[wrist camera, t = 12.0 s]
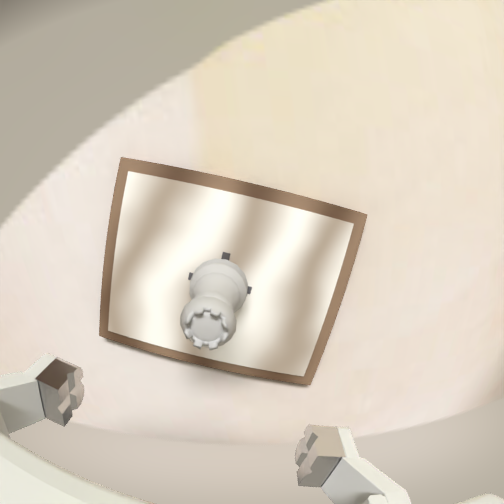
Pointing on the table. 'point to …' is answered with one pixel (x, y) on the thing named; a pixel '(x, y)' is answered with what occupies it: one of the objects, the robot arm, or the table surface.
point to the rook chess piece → (213, 303)
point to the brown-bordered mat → (234, 250)
